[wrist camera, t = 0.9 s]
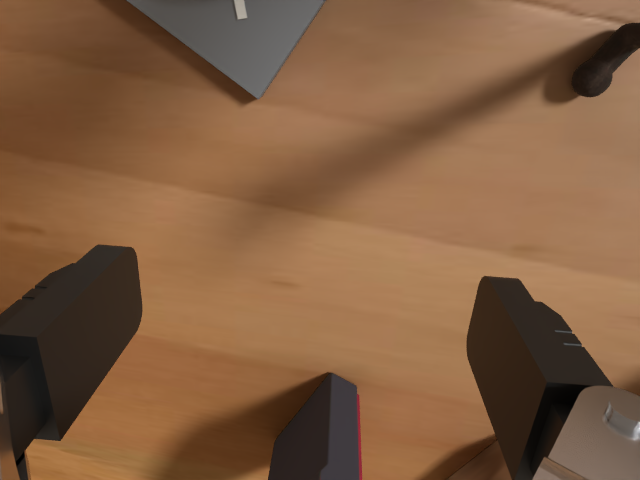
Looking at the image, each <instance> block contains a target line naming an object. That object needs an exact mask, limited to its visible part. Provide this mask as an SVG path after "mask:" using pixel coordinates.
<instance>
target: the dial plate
mask: <svg viewBox="0 0 640 480" xmlns="http://www.w3.org/2000/svg"><path fill="white" fill-rule="evenodd" d="M127 1H128V2H130V3H131V4H132V5H133V6H135V7H136V8H137V9H139V10H140V11H141V12H143V13H144V14H145V15H147V16H148V17H149V18H151V19H152V20H153V21H155V22H156V23H157V24H159V25H160V26H161V27H163V28H164V29H165V30H167V31H168V32H169V33H171V34H172V35H173V36H175V37H176V38H177V39H179V40H180V41H181V42H183V43H184V44H185V45H187V46H188V47H189V48H191V49H192V50H193V51H195V52H196V53H197V54H199V55H200V56H201V57H203V58H204V59H205V60H207V61H208V62H209V63H211V64H212V65H213V66H215V67H216V68H217V69H219V70H220V71H221V72H223V73H224V74H225V75H227V76H228V77H229V78H231V79H232V80H233V81H235V82H236V83H237V84H239V85H240V86H241V87H243V88H244V89H245V90H247V91H248V92H249V93H250V94H252V95H253V96H254V97H256V98H257V99H260V98H261V97H262V96H263V94H264V93H265V91H266V90H267V88H268V87H269V85H270V84H271V82H272V81H273V79H274V78H275V76H276V75H277V73H278V72H279V70H280V69H281V67H282V66H283V64H284V63H285V61H286V60H287V58H288V57H289V55H290V54H291V52H292V51H293V49H294V48H295V46H296V45H297V43H298V42H299V40H300V39H301V37H302V36H303V34H304V33H305V31H306V30H307V28H308V27H309V25H310V24H311V22H312V21H313V19H314V18H315V16H316V15H317V13H318V12H319V10H320V9H321V7H322V6H323V4H324V3H325V1H326V0H127Z"/></svg>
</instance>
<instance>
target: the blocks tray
mask: <svg viewBox="0 0 640 480" xmlns="http://www.w3.org/2000/svg"><path fill="white" fill-rule="evenodd" d="M446 480H512V479H511V476H510V473H509V470H508V468H507V465H506V462H505V459H504V457H503V454H502V451H501V448H500V446H499V443H498V440H497V441H495V442H494V443H493V444H491V445H490V446H489V447H488V448H486V449H485V450H484V451H482V452H481V453H480V454H479V455H477V456H476V457H475V458H473V459H472V460H471V461H470V462H468V463H467V464H466V465H464V466H463V467H462V468H461V469H459V470H458V471H457V472H455V473H454V474H453V475H452V476H450V477H449V478H448V479H446Z"/></svg>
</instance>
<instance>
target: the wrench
mask: <svg viewBox="0 0 640 480" xmlns="http://www.w3.org/2000/svg"><path fill="white" fill-rule="evenodd" d="M639 48H640V23H629V24H625V25H623V26H621V27H620V28H619V29H618V30H617V31H616V32H615V33H614V34H613V35H612V36H611V37H610V38H609V39H608V40H607V41H606V43H605V44H604V45H603V46H602V47H601V48H600V49H599V50H598V51H597V52H596V53H595V54H594V56H593V57H592V58H591V59H590V60H588V61H587V62H585V63H583V64H582V65H580V66H579V67H578V68H577V69H576V71H575V72H574V74H573V77H572V87H573V89H574V91H575V92H576V93H577V94H579V95H581V96H584V97H595V96H598V95H600V94H601V93H603V92H604V91H605V90H606V89H607V88H608V87H609V86H610V84H611V81H612V73H613V72H614V71H615V70H616V69H617V68H618V67H619V66H620V65H621V64H622V63H623V62H624V61H625V60H626V59H627V58H628V57H629V56H630V55H631V54H632V53H634V52H635V51H636V50H637V49H639Z"/></svg>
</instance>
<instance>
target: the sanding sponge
mask: <svg viewBox="0 0 640 480" xmlns="http://www.w3.org/2000/svg"><path fill="white" fill-rule="evenodd" d="M268 480H362V461H361V433H360V405H359V395H358V394H357V387H356V385H354V384H352V383H350V382H348V381H346V380H345V379H343V378H341V377H339V376H337V375H335V374H333V373H330V374H329V375H328V376H327V377H326V378H325V379H324V381H323V382H322V383H321V384H320V386H319V387H318V388H317V389H316V391H315V392H314V393H313V394H312V396H311V397H310V398H309V399H308V400H307V402H306V403H305V404H304V405H303V407H302V408H301V409H300V410H299V412H298V413H297V414H296V415H295V417H294V418H293V419H292V420H291V421H290V423H289V424H288V425H287V426H286V428H285V429H284V430H283V431H282V433H281V434H280V435H279V436H278V438H277V439H276V440H275V443H274V448H273V453H272V459H271V465H270V471H269V476H268Z"/></svg>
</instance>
